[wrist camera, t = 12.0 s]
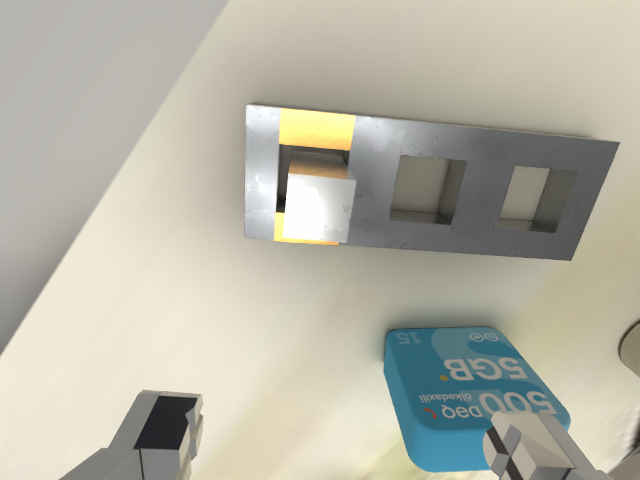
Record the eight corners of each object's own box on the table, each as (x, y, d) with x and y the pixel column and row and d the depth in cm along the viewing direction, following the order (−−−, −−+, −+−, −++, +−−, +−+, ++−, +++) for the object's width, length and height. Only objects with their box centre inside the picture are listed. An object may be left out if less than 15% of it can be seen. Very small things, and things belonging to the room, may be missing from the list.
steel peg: (340, 155, 29) (356, 180, 20) (334, 202, 30) (346, 243, 22) (292, 149, 28) (288, 173, 20) (288, 197, 30) (282, 237, 22)
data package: (497, 325, 36) (582, 426, 25) (489, 359, 38) (565, 468, 27) (383, 328, 36) (419, 433, 25) (380, 362, 38) (413, 475, 26)
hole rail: (590, 137, 29) (622, 142, 26) (548, 246, 33) (572, 261, 30) (251, 103, 27) (245, 104, 24) (249, 224, 31) (243, 238, 28)
